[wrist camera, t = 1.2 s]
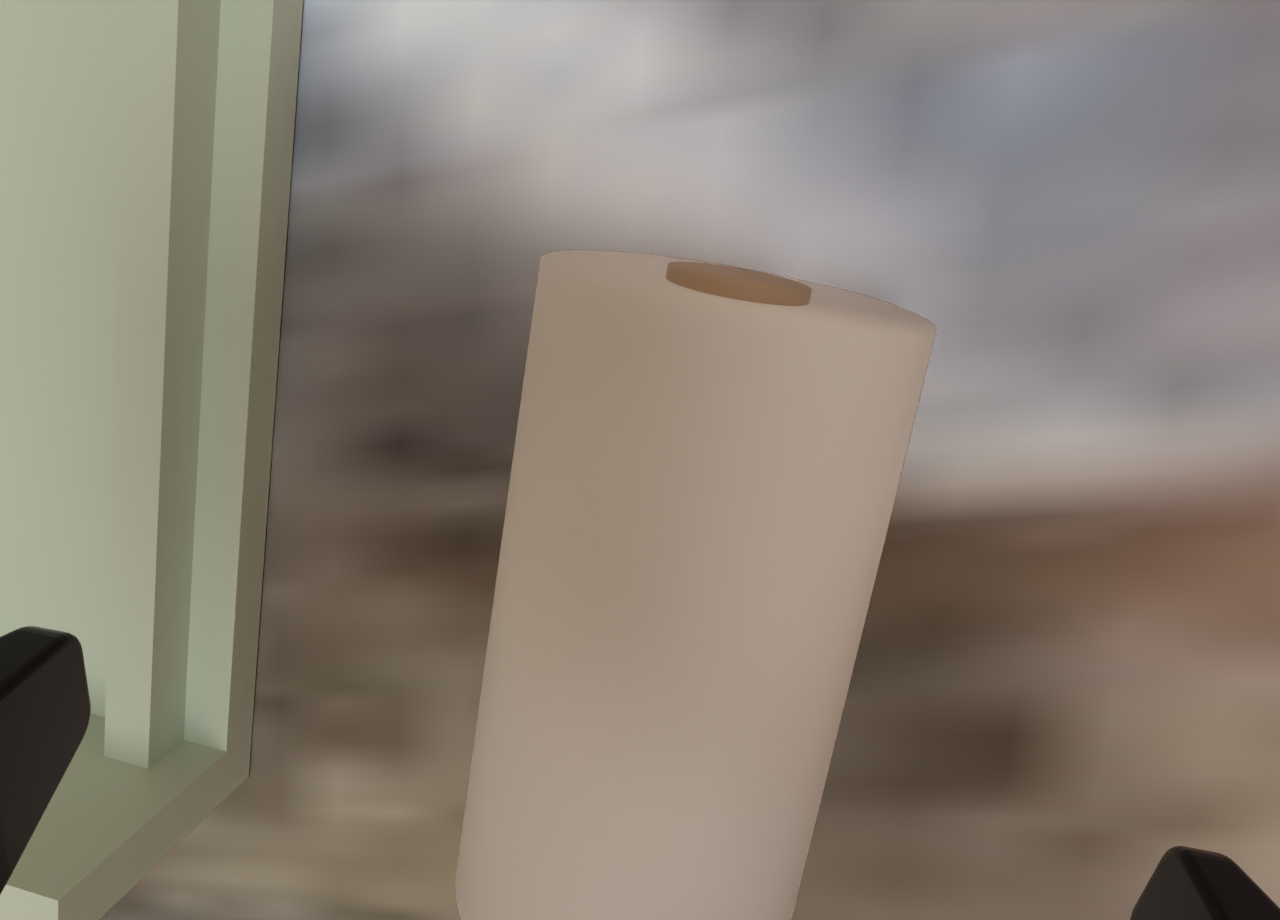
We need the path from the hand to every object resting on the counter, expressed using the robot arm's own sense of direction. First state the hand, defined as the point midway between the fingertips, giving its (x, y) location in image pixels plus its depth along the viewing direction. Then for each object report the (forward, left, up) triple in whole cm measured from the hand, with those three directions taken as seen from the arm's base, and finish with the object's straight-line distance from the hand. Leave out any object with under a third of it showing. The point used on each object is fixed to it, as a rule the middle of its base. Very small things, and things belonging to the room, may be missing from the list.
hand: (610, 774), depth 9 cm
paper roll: (-3, +1, -12) cm, 12 cm away
